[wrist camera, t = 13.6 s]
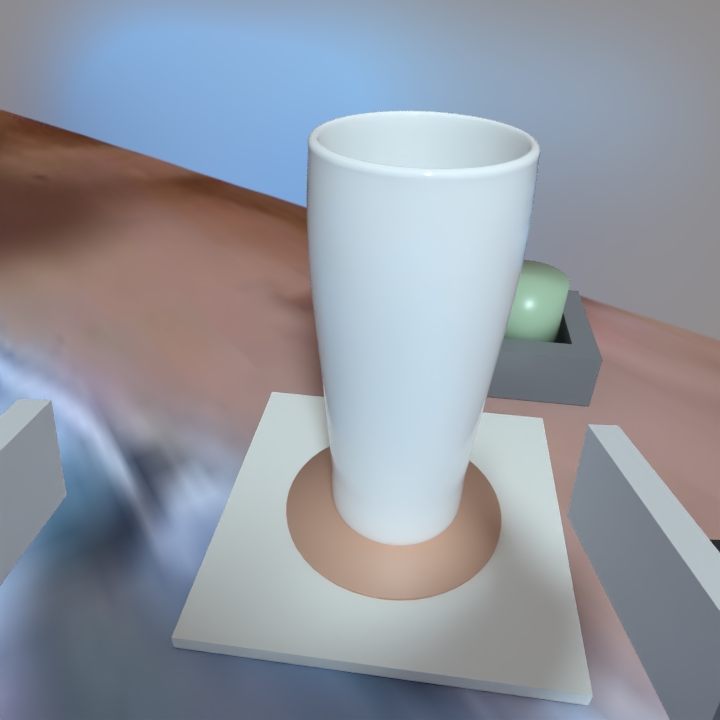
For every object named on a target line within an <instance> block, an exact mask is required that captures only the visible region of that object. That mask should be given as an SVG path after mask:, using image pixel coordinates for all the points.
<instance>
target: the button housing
mask: <svg viewBox="0 0 720 720" xmlns="http://www.w3.org/2000/svg"><path fill="white" fill-rule="evenodd" d="M601 363H602V358H601V355H600V352H599V349H598V346H597V343H596V341H595V338H594V335H593V332H592V329H591V326H590V323H589V321H588V318H587V315H586V312H585V309H584V306H583V304H582V301H581V298H580V295H579V292H578V291H570V290H568V294H567V298H566V302H565V306H564V311H563V315H562V319H561V323H560V327H559V331H558V336H557V340H556V343H552V342H541V341H529V340H517V339H506V338H504V339H503V343H502V346H501V350H500V353H499V357H498V360H497V364H496V367H495V371H494V374H493V377H492V381H491V384H490V388H489V392H488V395H487V397H497V398H508V399H518V400H529V401H539V402H550V403H560V404H571V405H581V406H589V404H590V400H591V397H592V394H593V390H594V387H595V383H596V380H597V377H598V373H599V370H600V366H601Z"/></svg>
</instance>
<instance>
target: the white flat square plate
mask: <svg viewBox="0 0 720 720" xmlns="http://www.w3.org/2000/svg"><path fill="white" fill-rule="evenodd" d="M171 639H172V643H173V646H174V647H175V648H182V649H189V650H196V651H203V652H211V653H218V654H225V655H232V656H239V657H246V658H253V659H261V660H268V661H275V662H282V663H289V664H296V665H303V666H310V667H318V668H325V669H332V670H339V671H346V672H353V673H360V674H368V675H375V676H382V677H389V678H396V679H403V680H410V681H417V682H425V683H432V684H439V685H446V686H453V687H460V688H467V689H475V690H482V691H489V692H496V693H503V694H510V695H517V696H524V697H532V698H539V699H546V700H553V701H560V702H567V703H574V704H582V705H589V703H590V701H591V699H592V697H593V694H592V688H591V683H590V677H589V672H588V666H587V661H586V655H585V650H584V644H583V639H582V633H581V628H580V622H579V617H578V611H577V606H576V600H575V595H574V589H573V584H572V578H571V573H570V567H569V562H568V556H567V551H566V545H565V540H564V534H563V529H562V523H561V518H560V512H559V507H558V501H557V496H556V490H555V485H554V479H553V474H552V468H551V463H550V457H549V452H548V446H547V441H546V435H545V430H544V424H543V419H542V418H534V417H524V416H514V415H503V414H493V413H482V416H481V420H480V424H479V427H478V431H477V434H476V438H475V442H474V445H473V449H472V453H471V456H470V460H469V464H468V467H467V471H466V475H465V480H464V486H463V493H462V499H461V504H460V507H459V510H458V513H457V515H456V517H455V519H454V520H453V522H452V523H451V524H450V526H449V527H448V528H447V529H446V530H445V531H444V532H442V533H441V534H440V535H438V536H437V537H435V538H433V539H431V540H429V541H426V542H423V543H420V544H416V545H410V546H391V545H384V544H380V543H376V542H373V541H371V540H368V539H366V538H364V537H362V536H361V535H359V534H357V533H356V532H355V531H353V530H352V529H351V528H350V527H349V526H348V525H347V524H346V523H345V522H344V521H343V519H342V518H341V517H340V515H339V513H338V511H337V509H336V507H335V504H334V500H333V493H332V461H331V452H330V442H329V434H328V425H327V416H326V408H325V399H324V397H319V396H309V395H298V394H288V393H278V392H272V394H271V397H270V399H269V401H268V404H267V406H266V409H265V411H264V413H263V416H262V418H261V421H260V423H259V426H258V428H257V430H256V433H255V435H254V438H253V440H252V443H251V445H250V447H249V450H248V452H247V455H246V457H245V460H244V462H243V464H242V467H241V469H240V472H239V474H238V477H237V479H236V481H235V484H234V486H233V489H232V491H231V494H230V496H229V498H228V501H227V503H226V506H225V508H224V510H223V513H222V515H221V518H220V520H219V523H218V525H217V527H216V530H215V532H214V535H213V537H212V540H211V542H210V544H209V547H208V549H207V552H206V554H205V557H204V559H203V561H202V564H201V566H200V569H199V571H198V574H197V576H196V578H195V581H194V583H193V586H192V588H191V591H190V593H189V595H188V598H187V600H186V603H185V605H184V607H183V610H182V612H181V615H180V617H179V620H178V622H177V624H176V627H175V629H174V632H173V634H172V637H171Z"/></svg>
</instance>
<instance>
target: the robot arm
mask: <svg viewBox="0 0 720 720" xmlns="http://www.w3.org/2000/svg"><path fill="white" fill-rule="evenodd" d="M65 497H66V488H65V482H64V476H63V470H62V464H61V458H60V451H59V445H58V439H57V433H56V427H55V420H54V414H53V408H52V402H51V400H33V399H19V400H17V401H16V402H15V403H14V404H13V405H12V406H11V407H10V408H8V409H7V410H6V411H5V412H4V413H3V414H2V415H1V416H0V585H1V584H2V583H3V581H4V580H5V579H6V577H7V576H8V574H9V573H10V572H11V570H12V569H13V568H14V566H15V565H16V564H17V562H18V561H19V559H20V558H21V557H22V555H23V554H24V553H25V551H26V550H27V549H28V547H29V546H30V544H31V543H32V542H33V540H34V539H35V538H36V536H37V535H38V534H39V532H40V531H41V529H42V528H43V527H44V525H45V524H46V523H47V521H48V520H49V518H50V517H51V516H52V514H53V513H54V512H55V510H56V509H57V508H58V506H59V505H60V503H61V502H62V501H63V499H64V498H65ZM567 516H568V518H569V520H570V522H571V524H572V526H573V528H574V530H575V532H576V534H577V536H578V538H579V540H580V542H581V544H582V546H583V548H584V550H585V552H586V554H587V556H588V558H589V560H590V562H591V564H592V566H593V568H594V570H595V572H596V574H597V576H598V578H599V580H600V582H601V584H602V586H603V588H604V590H605V592H606V594H607V596H608V598H609V600H610V602H611V604H612V606H613V608H614V610H615V612H616V614H617V616H618V618H619V620H620V622H621V624H622V626H623V628H624V630H625V631H626V633H627V635H628V637H629V639H630V641H631V643H632V645H633V647H634V649H635V651H636V653H637V655H638V657H639V659H640V661H641V663H642V665H643V667H644V669H645V671H646V673H647V675H648V677H649V679H650V681H651V683H652V685H653V687H654V689H655V691H656V693H657V695H658V697H659V699H660V701H661V703H662V705H663V707H664V709H665V711H666V713H667V715H668V717H669V719H670V720H720V540H709V539H708V537H707V536H706V535H705V534H704V532H703V531H702V530H701V529H700V527H699V526H698V525H697V524H696V522H695V521H694V520H693V519H692V517H691V516H690V515H689V513H688V512H687V511H686V510H685V508H684V507H683V506H682V505H681V503H680V502H679V501H678V500H677V498H676V497H675V496H674V495H673V493H672V492H671V491H670V490H669V488H668V487H667V486H666V485H665V483H664V482H663V481H662V480H661V478H660V477H659V476H658V475H657V473H656V472H655V471H654V470H653V468H652V467H651V466H650V465H649V463H648V462H647V461H646V460H645V458H644V457H643V456H642V455H641V453H640V452H639V451H638V450H637V448H636V447H635V446H634V445H633V443H632V442H631V441H630V440H629V438H628V437H627V436H626V435H625V433H624V432H623V431H622V430H621V428H620V427H619V426H614V425H592V424H588V426H587V430H586V435H585V439H584V444H583V448H582V452H581V457H580V461H579V466H578V470H577V475H576V479H575V483H574V488H573V492H572V497H571V501H570V506H569V510H568V514H567Z"/></svg>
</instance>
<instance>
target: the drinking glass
mask: <svg viewBox="0 0 720 720" xmlns="http://www.w3.org/2000/svg"><path fill="white" fill-rule="evenodd" d="M539 158H540V146H539V144H538V142H537V141H536V140H535V139H534V138H533V137H532V136H531V135H529V134H528V133H526V132H524V131H523V130H521V129H518V128H516V127H513V126H511V125H508V124H504V123H501V122H498V121H493V120H489V119H485V118H480V117H474V116H468V115H461V114H453V113H443V112H428V111H385V112H372V113H363V114H356V115H350V116H345V117H340V118H337V119H333V120H330V121H328V122H325V123H323V124H321V125H320V126H318V127H316V128H315V129H314V130H313V131H312V132H311V133H310V135H309V138H308V162H307V240H308V259H309V273H310V284H311V293H312V302H313V311H314V319H315V327H316V335H317V343H318V351H319V359H320V367H321V375H322V383H323V391H324V399H325V408H326V416H327V425H328V434H329V442H330V452H331V461H332V493H333V500H334V504H335V507H336V509H337V511H338V513H339V515H340V517H341V518H342V519H343V521H344V522H345V523H346V524H347V525H348V526H349V527H350V528H351V529H352V530H353V531H355V532H356V533H357V534H359V535H361V536H362V537H364V538H366V539H368V540H371V541H373V542H376V543H380V544H384V545H391V546H410V545H416V544H420V543H423V542H426V541H429V540H431V539H433V538H435V537H437V536H438V535H440V534H441V533H442V532H444V531H445V530H446V529H447V528H448V527H449V526H450V524H451V523H452V522H453V520H454V519H455V517H456V515H457V513H458V510H459V507H460V504H461V499H462V493H463V486H464V480H465V475H466V471H467V467H468V464H469V460H470V456H471V453H472V449H473V445H474V442H475V438H476V434H477V431H478V427H479V424H480V420H481V416H482V413H483V409H484V406H485V402H486V399H487V395H488V392H489V388H490V384H491V381H492V377H493V374H494V371H495V367H496V364H497V360H498V357H499V353H500V350H501V346H502V343H503V339H504V336H505V332H506V329H507V325H508V321H509V318H510V314H511V310H512V307H513V303H514V299H515V296H516V292H517V288H518V284H519V280H520V275H521V271H522V266H523V261H524V256H525V250H526V246H527V241H528V235H529V229H530V224H531V217H532V210H533V204H534V197H535V189H536V181H537V173H538V164H539Z"/></svg>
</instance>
